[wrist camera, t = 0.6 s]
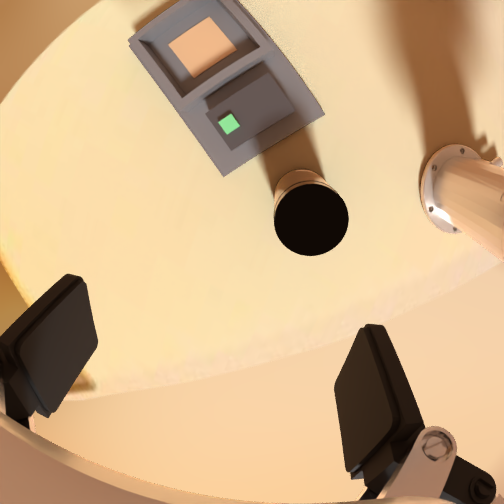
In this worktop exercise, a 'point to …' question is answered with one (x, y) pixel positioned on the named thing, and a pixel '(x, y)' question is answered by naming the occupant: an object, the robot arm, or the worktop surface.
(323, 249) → the supplement container
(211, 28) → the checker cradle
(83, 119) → the worktop surface
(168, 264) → the worktop surface
